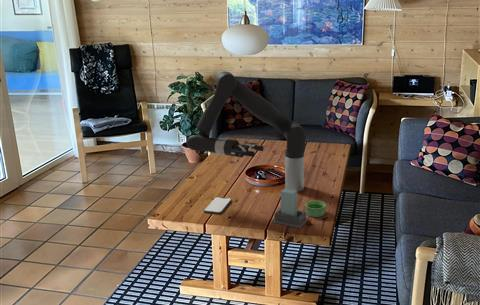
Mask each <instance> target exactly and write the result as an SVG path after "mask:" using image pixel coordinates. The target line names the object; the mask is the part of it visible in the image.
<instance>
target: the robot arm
mask: <svg viewBox="0 0 480 305" xmlns="http://www.w3.org/2000/svg"><path fill="white" fill-rule="evenodd" d="M214 81H215V82H214V84H215V86H216V89H215V92H214V94H213V97H212V98H211V100H210V102H209V104H208V105H207V106H206V108H205V109H204V110H203V113H202V114H201V117H200V118H199V121H198V122H197V125H196V128H197V130H198V132H197V135H195V134H193V135H189V137H187V139H186V142H185V144H186V146H187V148H188V149H190V150H192V151H198V152H199V151H200V152H207V153H213V154H218V155H221V156H228V157H237V158H244V157H251V158H253V157H255V156H256V152H255V151H258V152H264V151H265V150H264V148H265V147H264V146H263V145H257V144H258V143H257V142H249V141H245V142H244V143H240V142H239V140H237V139H234V138H233V139H231V138H223V137H221V138H220V137H212V136H211V131H212V130H213V128H214V127H215V124H216V122H217V120H218V118H219V116H220V113H221V111H222V110H223V108H224V106H225V104H226V102H227V101H228V100H229V98H230V97H232V98H234V99H235V100H237V101H238V103H240V105H242V106H243V107H244V108H245V109H246V110H247V111H248V112H249V113H250V114H251V115H253V116H255V117H256V118H257V119H258V120H260V121H261V122H264V124H265V123H266V124H267V125H270V126H272V127H273V128H275V129H276V130H277V131H278V132H279V133H280V134H282V135H283V136H284V138H285V139H286V149H285V150H284V151H285V152H284V166H285V167H284V170H285V171H284V173H285V174H284V176H285V177H284V179H285V180H284V184H285V185H284V186H285V187H284V189H290V190H295V191H297V192H302V191H303V190H304V189H305V188H304V186H305V151H306V138H307V136H306V135H307V134H306V131H305V129H304V128H303V127H302V126H301V125H300V124H299V123H298V122H295V121H294V120H292V119H290V118H288V117H287V116H285V115H284V114H283V113H281V111H280V110H278V109H277V107H276V106H274V105H273V104H272V103H271V102H270V101H268V100H267V99H266V98H264V97H263V96H261V95H260V94H258V93H257V92H255V91H253V90H252V89H250V88H248V87H247V86H246V85H244V84H243V83H242V82H240V81H239V79H238V78H236V76H235V75H234V74H233V73H232V72H229V71H220V72H218V73H217V75H216V76H215V79H214Z"/></svg>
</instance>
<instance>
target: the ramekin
mask: <svg viewBox="0 0 480 305" xmlns="http://www.w3.org/2000/svg"><path fill="white" fill-rule="evenodd" d="M326 207H327V204H326V203H325V202H324V201H320V200H309V201H306V203H305V209H306V210H305V212H306V216H308V217H313V218H321V217H323V216H324V215H325V212H326Z"/></svg>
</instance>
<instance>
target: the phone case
mask: <svg viewBox="0 0 480 305" xmlns="http://www.w3.org/2000/svg"><path fill="white" fill-rule="evenodd" d="M231 203H233V202H232V198H230V197H219V196H216V197H214V198H213V199H212V201H211V202H210V203H209V204H208V205H207V206H206V207H205V209H203V213H204V214H210V215H211V214H212V215H222V214H223V213H224V211H225V210H227V208H228V207H229V206H230V205H231Z"/></svg>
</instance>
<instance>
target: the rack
mask: <svg viewBox="0 0 480 305" xmlns="http://www.w3.org/2000/svg"><path fill="white" fill-rule="evenodd" d="M273 216H274V218H273V219H271V223H274V224H279V225H284V226H288V227H293V228H297V229H301V228H302V227H303V226H304V225H305V224H306V223H307V222H308V220H309V217H307V213H306V211H303V210H298V209H297V217H296V216H291V215H286V214H281V207H280V208H279V209H278V210H277V211H275V212H274V214H273Z"/></svg>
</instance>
